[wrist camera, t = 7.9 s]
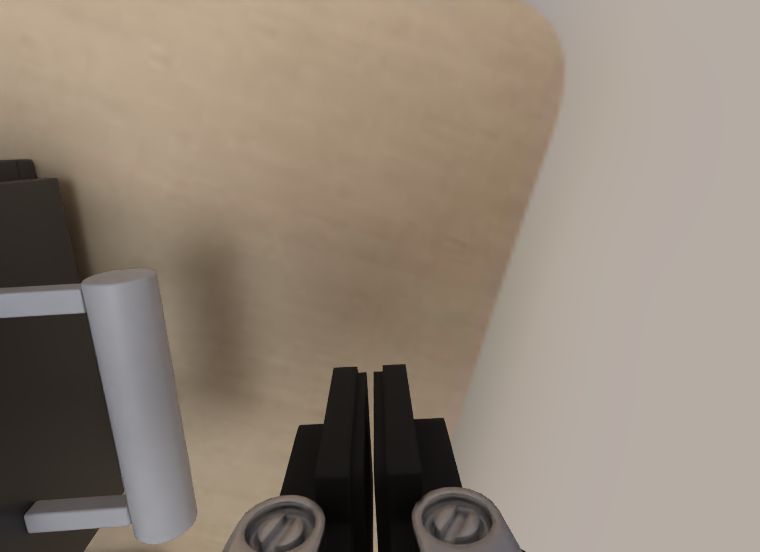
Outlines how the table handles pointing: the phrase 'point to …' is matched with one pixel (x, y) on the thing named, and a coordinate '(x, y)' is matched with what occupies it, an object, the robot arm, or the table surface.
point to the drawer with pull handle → (82, 391)
